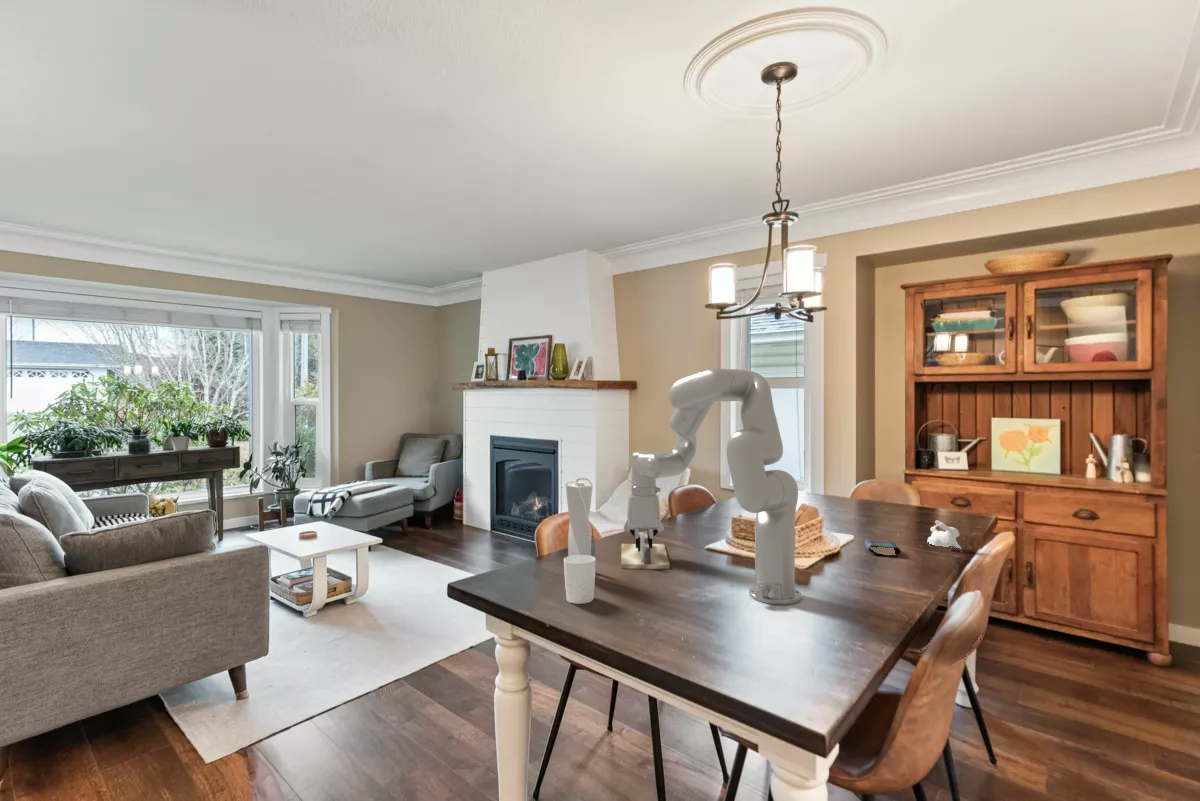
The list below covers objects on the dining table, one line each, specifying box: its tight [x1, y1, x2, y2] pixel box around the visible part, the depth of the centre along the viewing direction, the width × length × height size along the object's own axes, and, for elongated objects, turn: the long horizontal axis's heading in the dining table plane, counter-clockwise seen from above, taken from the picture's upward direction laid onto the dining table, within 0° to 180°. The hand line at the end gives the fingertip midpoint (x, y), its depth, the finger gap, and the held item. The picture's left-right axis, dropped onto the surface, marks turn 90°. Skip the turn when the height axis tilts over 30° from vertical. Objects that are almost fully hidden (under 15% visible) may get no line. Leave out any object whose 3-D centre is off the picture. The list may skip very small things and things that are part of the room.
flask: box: [864, 539, 902, 556], centre depth 184 cm, size 9×3×11 cm
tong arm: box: [639, 531, 645, 561], centre depth 179 cm, size 1×18×4 cm, turn 178°
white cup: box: [563, 555, 597, 605], centre depth 142 cm, size 8×8×10 cm
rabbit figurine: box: [927, 519, 962, 549], centre depth 187 cm, size 12×8×10 cm, turn 21°
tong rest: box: [620, 530, 671, 570], centre depth 179 cm, size 14×24×6 cm, turn 178°
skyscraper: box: [565, 477, 597, 580], centre depth 160 cm, size 8×8×28 cm
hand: (643, 550), depth 179 cm, fingers closed
